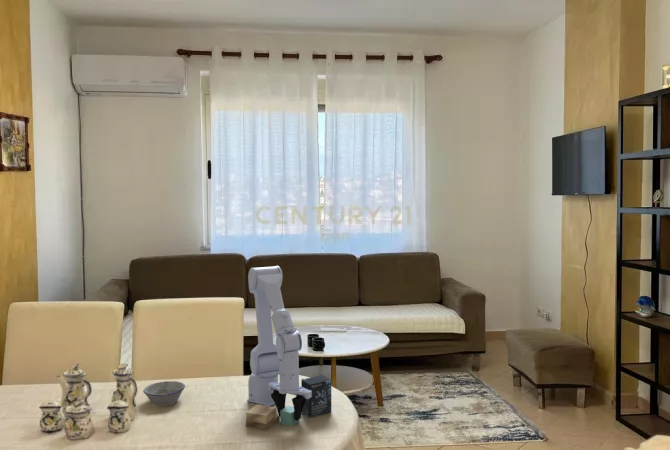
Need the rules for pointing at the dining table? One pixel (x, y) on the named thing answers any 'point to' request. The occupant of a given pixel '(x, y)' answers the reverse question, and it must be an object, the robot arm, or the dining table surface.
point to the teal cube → (287, 416)
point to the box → (317, 395)
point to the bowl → (164, 392)
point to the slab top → (261, 414)
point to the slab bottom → (264, 426)
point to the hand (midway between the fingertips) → (289, 417)
